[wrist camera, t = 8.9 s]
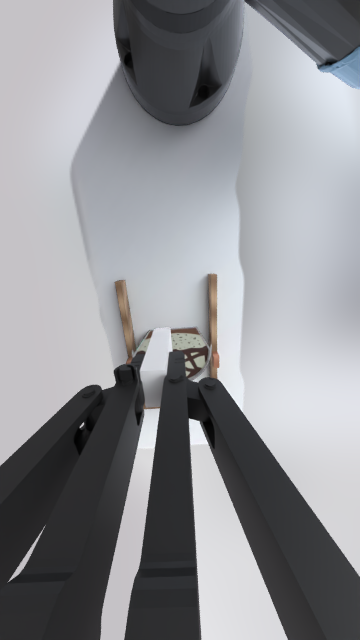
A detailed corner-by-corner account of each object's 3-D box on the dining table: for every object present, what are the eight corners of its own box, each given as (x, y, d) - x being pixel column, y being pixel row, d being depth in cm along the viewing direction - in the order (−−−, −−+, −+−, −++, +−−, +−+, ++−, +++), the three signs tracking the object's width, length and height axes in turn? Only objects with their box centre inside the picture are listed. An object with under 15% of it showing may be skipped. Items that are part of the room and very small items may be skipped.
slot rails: (119, 280, 32) (111, 283, 28) (214, 273, 32) (219, 275, 28) (140, 401, 40) (136, 416, 36) (214, 396, 40) (219, 411, 36)
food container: (145, 358, 37) (135, 391, 27) (141, 330, 35) (128, 356, 25) (205, 353, 37) (214, 386, 27) (204, 326, 35) (214, 350, 25)
